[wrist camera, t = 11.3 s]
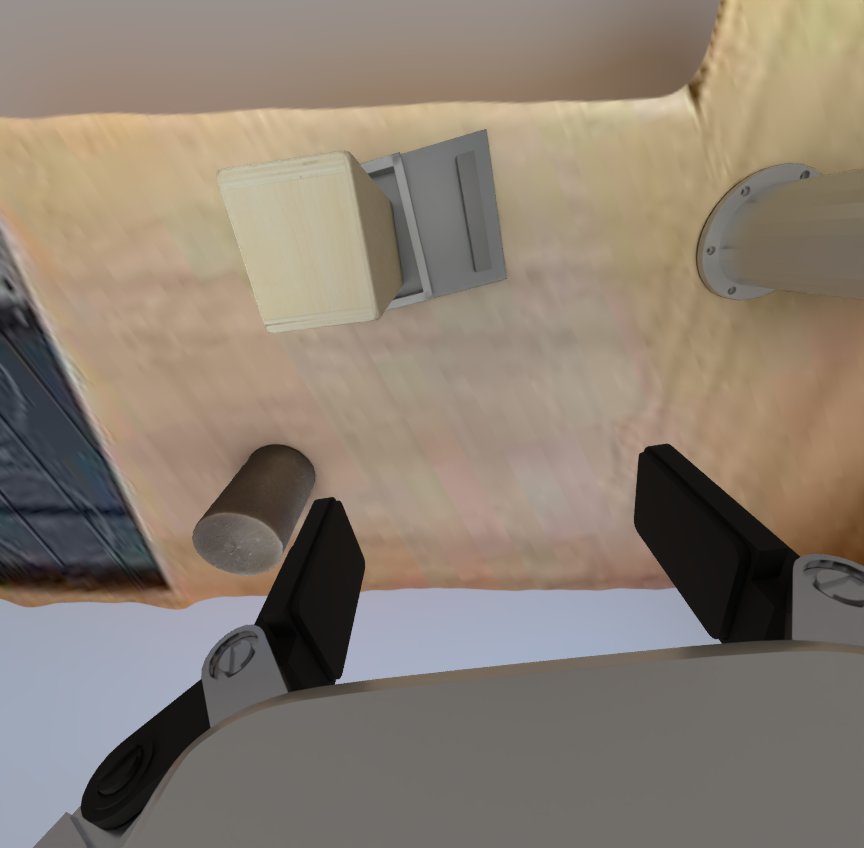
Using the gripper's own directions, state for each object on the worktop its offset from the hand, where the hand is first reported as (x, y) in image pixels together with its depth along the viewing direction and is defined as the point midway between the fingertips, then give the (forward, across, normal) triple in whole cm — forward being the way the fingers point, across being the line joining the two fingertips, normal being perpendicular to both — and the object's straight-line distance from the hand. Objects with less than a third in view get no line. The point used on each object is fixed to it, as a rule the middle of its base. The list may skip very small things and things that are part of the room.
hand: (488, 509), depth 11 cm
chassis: (+34, +4, -9) cm, 35 cm away
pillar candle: (+33, +28, +17) cm, 47 cm away
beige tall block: (+32, +8, -8) cm, 34 cm away
